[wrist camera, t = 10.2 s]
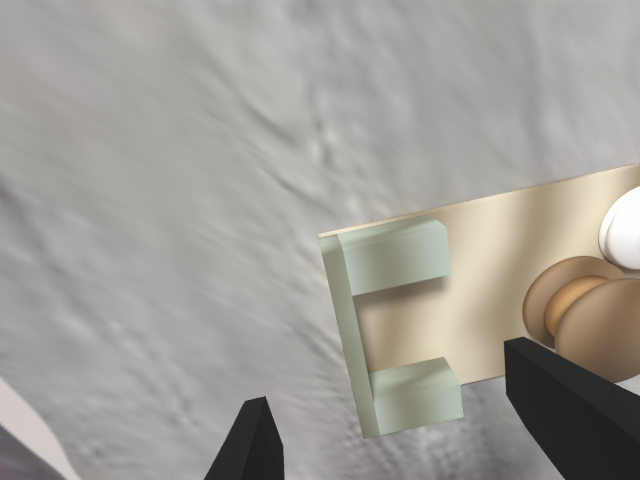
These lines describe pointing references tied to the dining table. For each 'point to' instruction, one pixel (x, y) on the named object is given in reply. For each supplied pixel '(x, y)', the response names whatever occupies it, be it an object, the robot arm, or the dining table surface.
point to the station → (480, 295)
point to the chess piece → (622, 231)
